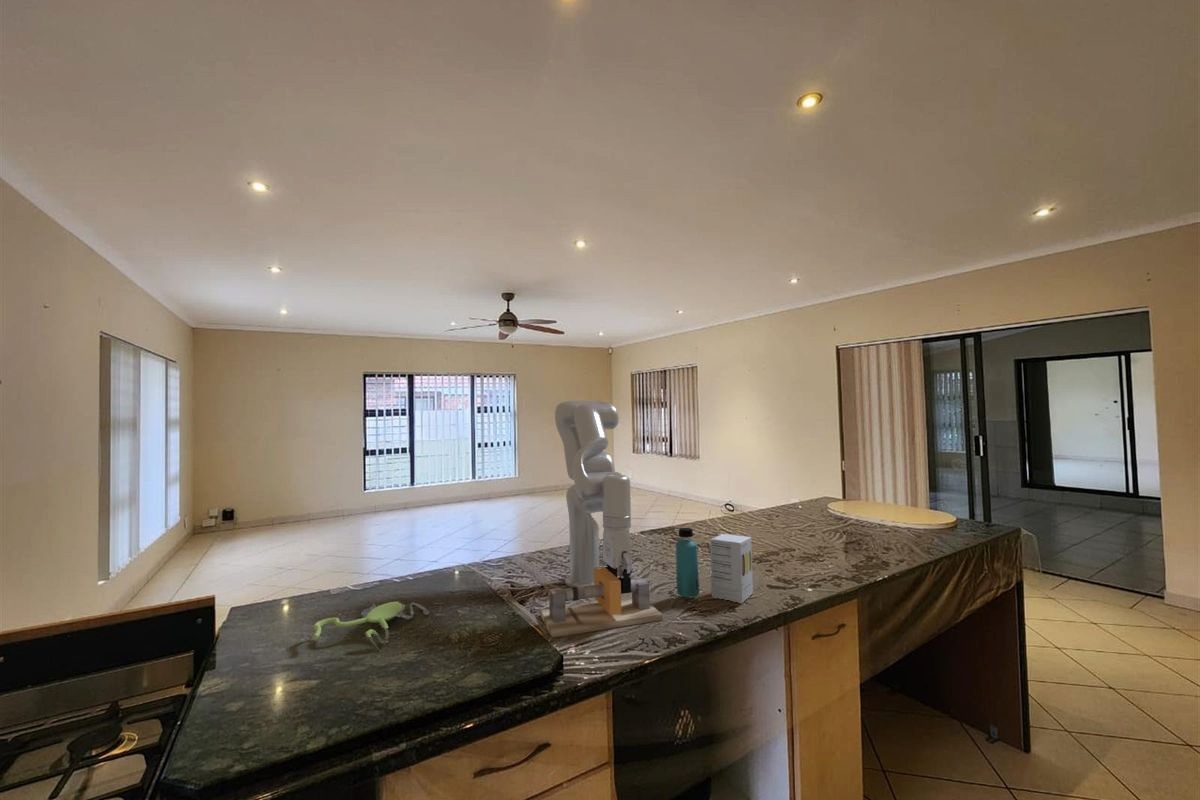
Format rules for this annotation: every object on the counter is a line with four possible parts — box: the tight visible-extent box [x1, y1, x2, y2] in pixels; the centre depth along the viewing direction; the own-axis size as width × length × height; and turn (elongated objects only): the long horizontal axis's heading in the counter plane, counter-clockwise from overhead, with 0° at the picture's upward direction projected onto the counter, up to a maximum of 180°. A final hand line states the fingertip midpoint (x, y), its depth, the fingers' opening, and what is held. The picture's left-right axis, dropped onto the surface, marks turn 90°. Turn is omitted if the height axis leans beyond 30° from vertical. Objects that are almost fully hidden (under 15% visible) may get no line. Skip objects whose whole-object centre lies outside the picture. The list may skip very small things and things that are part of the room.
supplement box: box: [709, 533, 754, 604], centre depth 134 cm, size 10×9×17 cm
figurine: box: [312, 601, 402, 641], centre depth 115 cm, size 18×27×6 cm
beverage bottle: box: [675, 527, 700, 598], centre depth 133 cm, size 6×7×20 cm
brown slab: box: [594, 566, 622, 615], centre depth 121 cm, size 13×3×8 cm, turn 18°
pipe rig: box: [539, 577, 663, 639], centre depth 120 cm, size 14×29×9 cm, turn 108°
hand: (618, 586), depth 122 cm, fingers open, 9 cm apart
